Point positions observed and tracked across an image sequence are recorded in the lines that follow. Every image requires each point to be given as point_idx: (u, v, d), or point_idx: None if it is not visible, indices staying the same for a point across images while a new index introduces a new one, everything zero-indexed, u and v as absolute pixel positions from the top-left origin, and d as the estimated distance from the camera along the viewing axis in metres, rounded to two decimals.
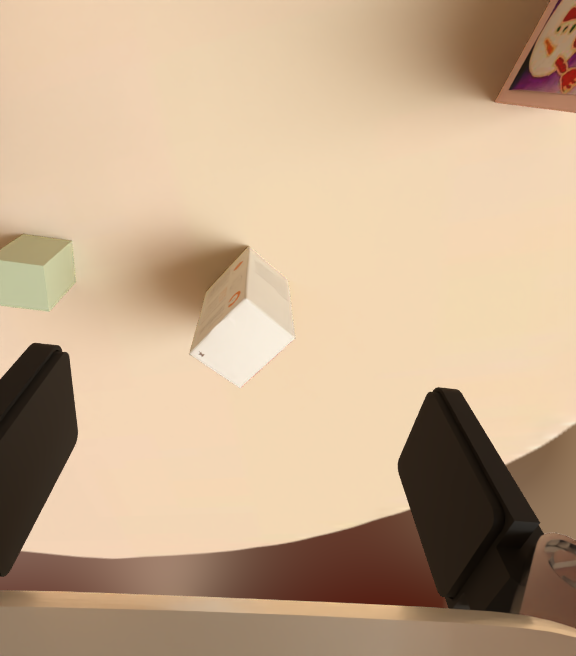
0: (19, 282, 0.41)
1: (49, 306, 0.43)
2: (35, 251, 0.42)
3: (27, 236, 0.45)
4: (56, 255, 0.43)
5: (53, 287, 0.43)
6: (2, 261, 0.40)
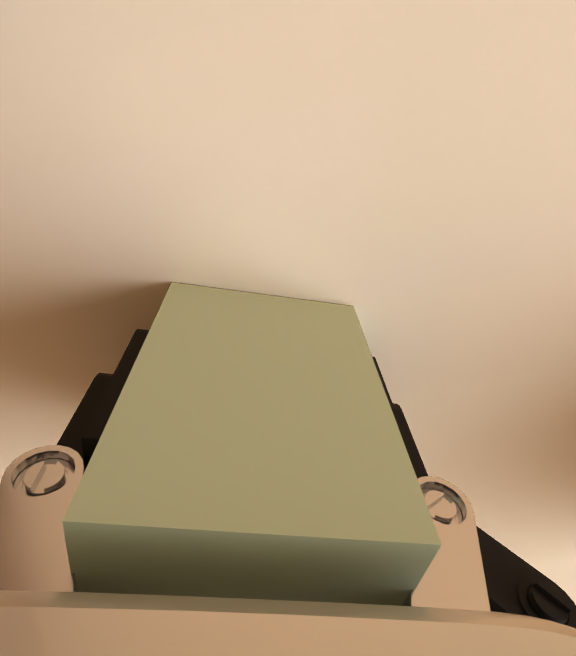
0: None
1: None
2: (291, 389, 0.08)
3: (193, 295, 0.11)
4: (387, 409, 0.08)
5: None
6: (174, 534, 0.05)
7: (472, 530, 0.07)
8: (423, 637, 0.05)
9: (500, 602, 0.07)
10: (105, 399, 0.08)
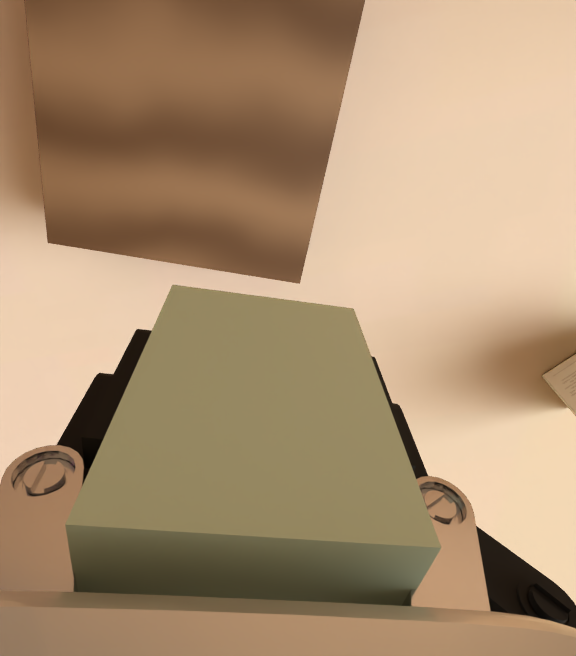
0: None
1: None
2: (291, 392, 0.08)
3: (194, 297, 0.11)
4: (387, 411, 0.08)
5: None
6: (176, 537, 0.06)
7: (472, 530, 0.07)
8: (423, 638, 0.04)
9: (500, 602, 0.07)
10: (105, 399, 0.08)
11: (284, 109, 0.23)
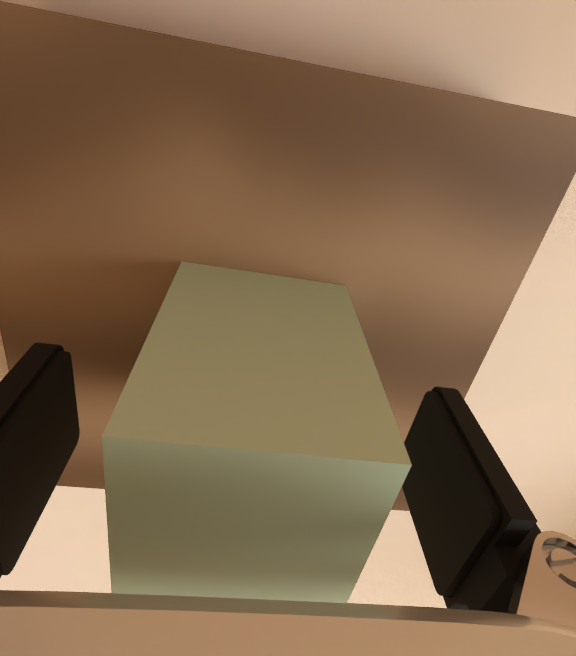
0: (251, 530, 0.08)
1: None
2: (288, 349, 0.09)
3: (201, 272, 0.12)
4: (372, 368, 0.10)
5: None
6: (192, 450, 0.07)
7: None
8: (423, 637, 0.04)
9: None
10: None
11: (417, 308, 0.14)
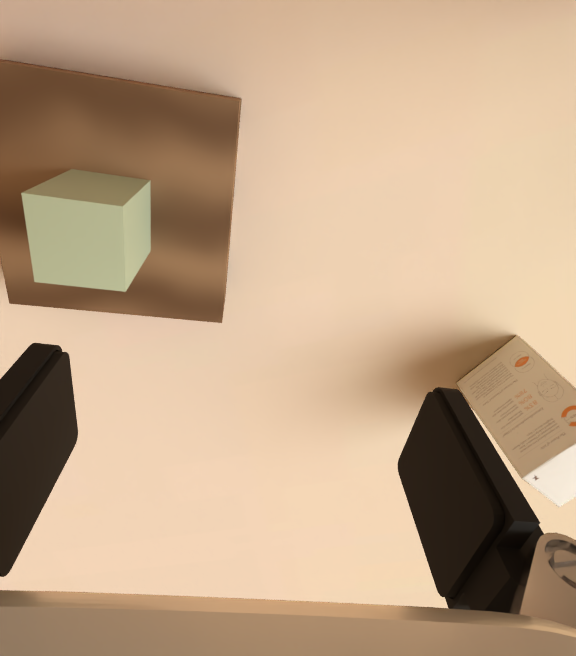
0: (77, 238, 0.23)
1: (126, 282, 0.25)
2: (101, 188, 0.25)
3: (79, 172, 0.27)
4: (136, 196, 0.25)
5: (131, 251, 0.25)
6: (50, 199, 0.22)
7: None
8: (423, 637, 0.05)
9: None
10: None
11: (188, 191, 0.29)
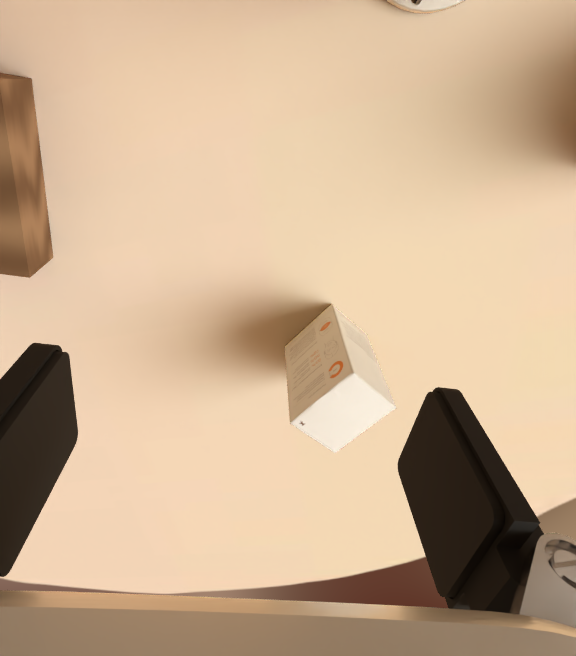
0: None
1: None
2: None
3: None
4: None
5: None
6: None
7: None
8: (423, 637, 0.05)
9: None
10: None
11: None
